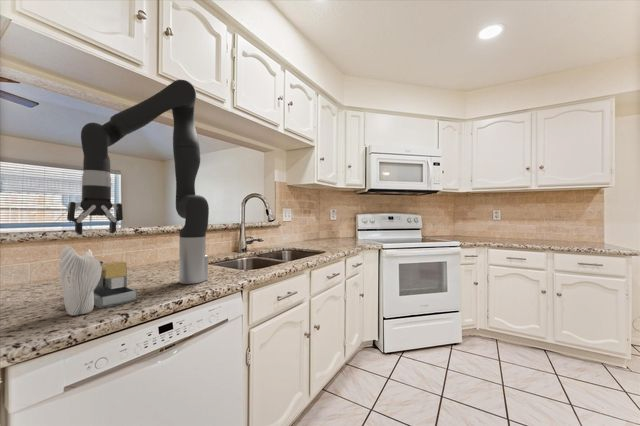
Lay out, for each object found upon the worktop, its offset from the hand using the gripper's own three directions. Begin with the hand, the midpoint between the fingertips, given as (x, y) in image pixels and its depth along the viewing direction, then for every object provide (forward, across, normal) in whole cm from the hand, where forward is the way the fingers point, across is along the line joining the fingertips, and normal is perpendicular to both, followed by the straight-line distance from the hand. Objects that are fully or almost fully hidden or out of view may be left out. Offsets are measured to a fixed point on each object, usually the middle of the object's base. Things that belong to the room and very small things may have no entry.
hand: (96, 233), depth 92 cm
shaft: (+17, 0, +9) cm, 19 cm away
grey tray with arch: (+19, 0, +14) cm, 24 cm away
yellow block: (+12, 0, +16) cm, 20 cm away
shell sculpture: (+20, +9, +20) cm, 30 cm away
